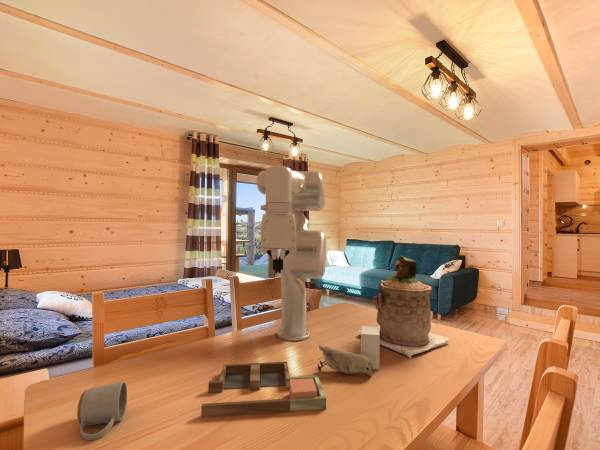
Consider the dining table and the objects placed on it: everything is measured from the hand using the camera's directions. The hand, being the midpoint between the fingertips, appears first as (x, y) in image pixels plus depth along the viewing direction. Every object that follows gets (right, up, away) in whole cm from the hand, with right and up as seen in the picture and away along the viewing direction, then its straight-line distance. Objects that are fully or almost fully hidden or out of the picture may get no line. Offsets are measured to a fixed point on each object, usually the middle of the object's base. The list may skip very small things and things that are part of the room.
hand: (277, 272), depth 91 cm
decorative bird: (+19, -30, 0) cm, 36 cm away
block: (+7, -30, -14) cm, 34 cm away
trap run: (-3, -29, -9) cm, 31 cm away
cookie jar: (+45, -30, +26) cm, 60 cm away
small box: (+28, -30, +6) cm, 41 cm away
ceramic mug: (-36, -30, -24) cm, 52 cm away
